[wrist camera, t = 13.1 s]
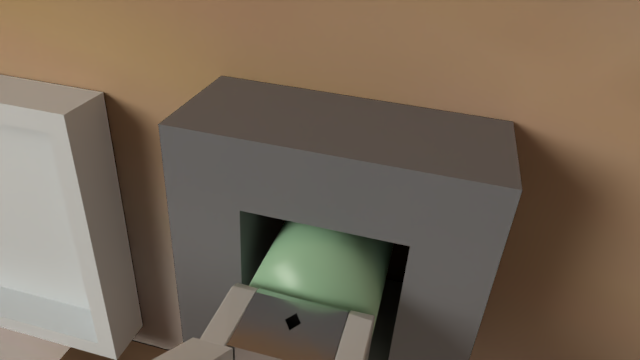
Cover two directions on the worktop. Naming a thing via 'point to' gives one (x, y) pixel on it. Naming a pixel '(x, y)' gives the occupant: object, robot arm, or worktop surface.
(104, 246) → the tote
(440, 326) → the grey square holed block
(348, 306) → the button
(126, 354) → the wooden holder frame
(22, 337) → the worktop surface
